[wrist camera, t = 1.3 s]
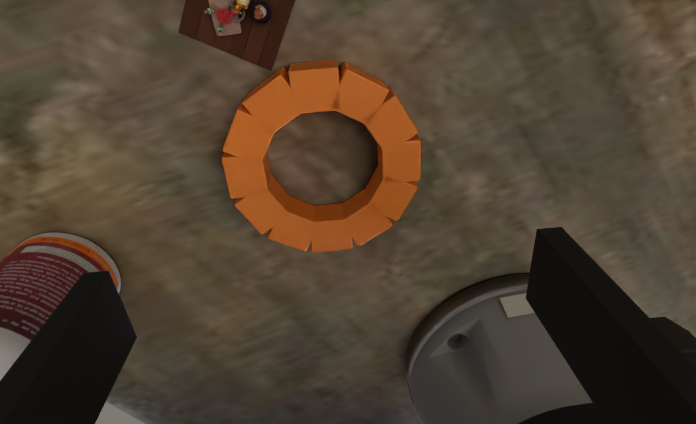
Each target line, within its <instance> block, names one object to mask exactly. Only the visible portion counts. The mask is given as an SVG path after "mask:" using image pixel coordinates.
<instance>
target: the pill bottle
mask: <svg viewBox="0 0 696 424" xmlns="http://www.w3.org/2000/svg"><path fill="white" fill-rule="evenodd" d="M99 271H109V272H110V275H111V277H112V279H113V282H114V284H115V286H116V289H117V291H118V294H119V293H120V289H121V278H120V274H119V271H118V268H117V266H116V264H115V263H114V261H113V260H112V259H111V257H110V256H109V255H108V254H107V253H106V252H105V251H104V250H103V249H101V248H100V247H99V246H98V245H96V244H94V243H93V242H91V241H89V240H87V239H85V238H82V237H79V236H76V235H72V234H67V233H58V232H51V233H43V234H38V235H35V236H32V237H30V238H28V239H26V240H24V241H23V242H21V243H20V244H19V245H18V246H17V247H15V248H14V249H13V250H12V251H11V252H10V253H9V254H8V255H7V256H6V257H4V258H3V259H2V260H1V261H0V380H1V379H2V378H3V377H4V375H5V374H6V373H7V371H8V370H9V369H10V367H11V366H12V365H13V364H14V362H15V361H16V360H17V358H18V357H19V356H20V354H21V353H22V352H23V351H24V349H25V348H26V347H27V345H28V344H29V343H30V341H31V340H32V339H33V338H34V336H35V335H36V334H37V332H38V331H39V330H40V328H41V327H42V326H43V325H44V323H45V322H46V321H47V319H48V318H49V317H50V315H51V314H52V313H53V312H54V310H55V309H56V308H57V306H58V305H59V304H60V302H61V301H62V300H63V299H64V297H65V296H66V295H67V293H68V292H69V291H70V289H71V288H72V287H73V286H74V284H75V283H76V282H77V280H78V279H79V278H80V276H81V275H82V274H83V273H88V272H99Z"/></svg>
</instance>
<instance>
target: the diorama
mask: <svg viewBox="0 0 696 424" xmlns="http://www.w3.org/2000/svg"><path fill="white" fill-rule="evenodd" d="M294 2H295V0H186V3H185V7H184V11H183V15H182V20H181V24H180V28H179V33H181V34H184V35H186V36H189V37H191V38H193V39H196V40H198V41H201V42H203V43H205V44H208V45H210V46H213V47H215V48H218V49H220V50H222V51H225V52H227V53H230V54H232V55H234V56H237V57H239V58H242V59H244V60H246V61H249V62H251V63H254V64H256V65H258V66H261V67H263V68H266V69H268V70H272V67H273V64H274V61H275V58H276V55H277V52H278V49H279V46H280V43H281V40H282V37H283V35H284V32H285V29H286V26H287V23H288V20H289V17H290V14H291V11H292V8H293V5H294Z"/></svg>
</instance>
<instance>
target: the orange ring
mask: <svg viewBox="0 0 696 424" xmlns="http://www.w3.org/2000/svg"><path fill="white" fill-rule="evenodd" d="M324 111H337V112H339V113H341V114H344V115H346V116H348V117H350V118H352V119H354V120H357V121H359V122H361V123H363V124H365V126H366V127H367V129H368V130H369V132H370V133H371V135H372V136H373V138H374V139H375V140H376V142H377V147H378V166H377V168H376V170H375V172H374V173H373V175H372V177H371V179H370V181H369V183H368V184H367V186H366V188H365V189H364V190H362V191H361V192H359V193H358V194H356V195H354V196H353V197H351V198H350V199H348V200H347V201H345V202H343V203H337V204H326V205H316V206H314V205H312V204H309V203H307V202H304V201H302V200H299V199H296V198H294V197H291V196H289V195H288V194H287V193H286V191H285V190H284V189H283V188H282V187H281V186H280V184H279V183H278V182H277V181H276V180H275V179H274V177H273V176H272V175H271V171H270V165H269V159H268V153H267V149H268V147H269V144H270V142H271V140H272V137H273V135H274V132H276V131H277V130H279V129H280V128H281V127H283V126H284V125H286V124H287V123H288V122H290V121H291V120H293V119H294V118H296V117H297V116H298V115H300V114H301V113H313V112H324ZM417 134H418V130H417V129H416V127H415V125H414V124H413V122H412V120H411V119H410V117H409V116H408V114H407V112H406V111H405V109H404V108H403V106H402V104H401V103H400V101H399V99H398V98H397V96H396V95H395V93H394V92H393V90H392V89H391V87H387V86H386V84H385V83H384V81H383V80H381V79H379V78H377V77H375V76H373V75H371V74H369V73H367V72H365V71H363V70H361V69H359V68H357V67H355V66H353V65H351V64H349V63H347V62H344V63H343V64H342V66H341V69H340V71H339V68H338V64H337V60H327V61H315V62H304V63H292V64H290V68H289V72H287V71H286V69H285V68H284V67H282V68H280V69H279V70H278V71H276V72H275V73H274V74H272V75H271V76H270V77H268V78H267V79H266V80H264V81H263V82H262V83H260V84H259V85H258V86H256V87H255V88H254V89H252V90H251V91H249V92H248V94H247V95H246V97H245V99H243V100H242V102H241V104H240V105H239V107H238V109H237V111H236V114H235V116H234V119H233V122H232V124H231V127H230V130H229V133H228V135H227V138H226V141H225V143H224V146H223V149H222V150H223V151H224V152H225V153H224V155H223V157H222V163H223V167H224V171H225V176H226V180H227V185H228V189H229V193H230V198H231V199H233V198H236V201H235V204H234V205H235V206H236V207H237V209H238V210H239V211H240V212H241V213H242V214H243V215H244V216H245V217H246V218H247V219H248V220H249V221H250V222H251V223H252V225H253V226H254V227H255V228H256V229H257V230H258V231H259V232H260V233H261V234H264V233H265V232H267V231H268V230H269V234H268V238H269V239H271V240H274V241H277V242H279V243H282V244H285V245H288V246H291V247H293V248H296V249H299V250H302V251H305V252H306V251H307V249H308V247H309V245H310V243H311V246H312V252H313V253H316V252H326V251H336V250H347V249H352V248H353V246H352V239H353V240H354V241H355V242H356V244H357V245H358V246H361V245H362V244H364V243H366V242H367V241H369V240H371V239H372V238H374V237H376V236H377V235H379V234H381V233H382V232H384V231H386V230H387V229H389V228H391V227H392V222H391V219H393V220H395V221H398V220H399V219H400V217H401V215H402V214H403V212H404V210H405V209H406V207H407V206H408V204H409V202H410V201H411V199H412V197H413V196H414V194H415V192H416V191H417V189H418V186H417V184H416V182H415V181H420V172H421V140H420V139H419V137H418V135H417Z"/></svg>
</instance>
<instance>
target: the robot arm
mask: <svg viewBox="0 0 696 424" xmlns="http://www.w3.org/2000/svg"><path fill="white" fill-rule="evenodd" d="M136 338H137V336H136V334H135V331H134V329H133V327H132V324H131V322H130V320H129V317H128V315H127V313H126V310H125V308H124V305H123V303H122V301H121V298H120V296H119V294H118V291H117V289H116V286H115V284H114V282H113V279H112V277H111V275H110V272H109V271H99V272H88V273H83V274H82V275H81V276H80V278H79V279H78V280H77V282H76V283H75V284H74V286H73V287H72V288H71V289H70V291H69V292H68V293H67V295H66V296H65V297H64V299H63V300H62V301H61V302H60V304H59V305H58V306H57V308H56V309H55V310H54V312H53V313H52V314H51V315H50V317H49V318H48V319H47V321H46V322H45V323H44V325H43V326H42V327H41V328H40V330H39V331H38V332H37V334H36V335H35V336H34V338H33V339H32V340H31V341H30V343H29V344H28V345H27V347H26V348H25V349H24V351H23V352H22V353H21V354H20V356H19V357H18V358H17V360H16V361H15V362H14V364H13V365H12V366H11V367H10V369H9V370H8V371H7V373H6V374H5V375H4V377H3V378H2V379H1V380H0V424H95V422H96V420H97V418H98V416H99V414H100V412H101V410H102V408H103V406H104V404H105V402H106V400H107V398H108V395H109V393H110V391H111V389H112V387H113V385H114V383H115V381H116V379H117V377H118V375H119V373H120V371H121V369H122V367H123V365H124V363H125V361H126V358H127V356H128V354H129V352H130V350H131V348H132V346H133V344H134V342H135V340H136ZM405 371H406V377H407V382H408V386H409V391H410V395H411V399H412V401H413V404H414V405H415V407H416V410H417V412H418V414H419V416H420V417H421V419H422V420H423V422H424V423H425V424H696V338H695V337H694V336H693V335H692V334H691V333H690V332H689V331H688V330H686V329H684V328H683V327H681V326H679V325H678V324H676V323H674V322H673V321H671V320H669V319H668V318H666V317H657V318H649V317H648V316H647V315H646V314H645V313H644V312H643V311H642V310H641V309H640V308H639V307H638V306H637V305H636V304H635V303H634V302H633V301H632V300H631V299H630V298H629V297H628V295H627V294H626V293H625V292H624V291H623V290H622V289H621V288H620V287H619V286H618V285H617V284H616V283H615V282H614V281H613V280H612V279H611V278H610V277H609V276H608V275H607V274H606V273H605V272H604V271H603V270H602V269H601V267H600V266H599V265H598V264H597V263H596V262H595V261H594V260H593V259H592V258H591V257H590V256H589V255H588V254H587V253H586V252H585V251H584V250H583V249H582V248H581V247H580V246H579V245H578V244H577V243H576V242H575V241H574V240H573V238H572V237H571V236H570V235H569V234H568V233H567V232H566V231H565V230H564V229H563V228H562V227H556V228H545V229H537V232H536V238H535V244H534V250H533V256H532V262H531V268H530V274H517V275H510V276H504V277H500V278H496V279H492V280H489V281H486V282H483V283H480V284H478V285H475V286H473V287H471V288H468V289H466V290H464V291H462V292H461V293H459V294H457V295H455V296H454V297H452V298H451V299H449V300H448V301H446V302H445V303H443V304H442V305H441V306H440V307H438V308H437V309H436V310H435V311H434V312H433V313H432V314H431V315H430V316H429V317H428V318H427V319H426V320H425V321H424V322H423V323H422V325H421V326H420V327H419V329H418V330H417V332H416V333H415V335H414V337H413V339H412V341H411V343H410V345H409V348H408V351H407V356H406V362H405Z"/></svg>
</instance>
